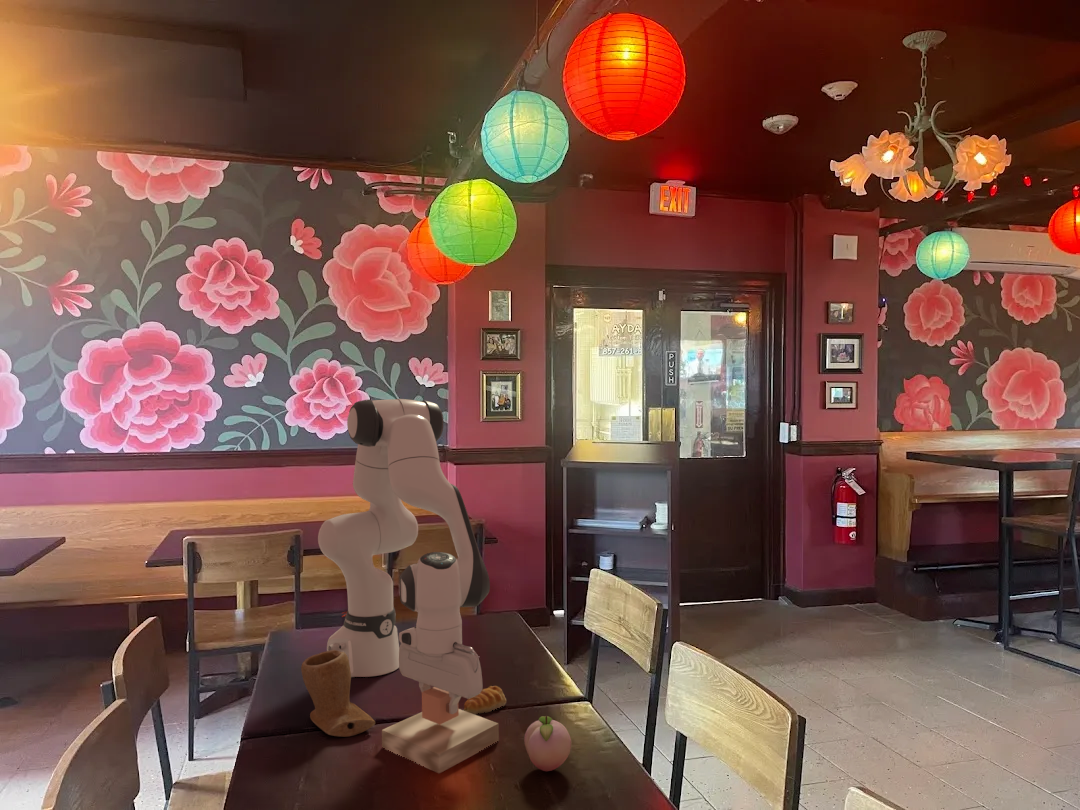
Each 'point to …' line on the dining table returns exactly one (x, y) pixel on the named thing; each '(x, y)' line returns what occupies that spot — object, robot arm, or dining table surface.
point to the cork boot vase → (333, 695)
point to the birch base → (440, 739)
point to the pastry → (485, 701)
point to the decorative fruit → (547, 743)
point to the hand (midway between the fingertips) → (440, 708)
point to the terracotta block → (436, 705)
